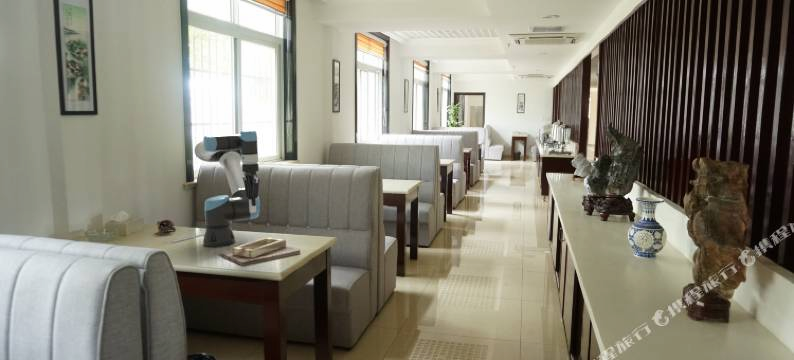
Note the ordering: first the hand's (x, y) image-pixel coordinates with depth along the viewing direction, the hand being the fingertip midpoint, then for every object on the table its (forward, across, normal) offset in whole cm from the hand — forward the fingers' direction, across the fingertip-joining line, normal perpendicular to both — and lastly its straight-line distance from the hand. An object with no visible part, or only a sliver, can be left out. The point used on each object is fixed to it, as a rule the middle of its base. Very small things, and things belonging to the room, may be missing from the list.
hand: (253, 212), depth 263 cm
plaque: (+17, -43, -18) cm, 50 cm away
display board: (+17, +15, -5) cm, 23 cm away
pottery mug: (+17, -63, -21) cm, 69 cm away
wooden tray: (+15, +14, -5) cm, 21 cm away
